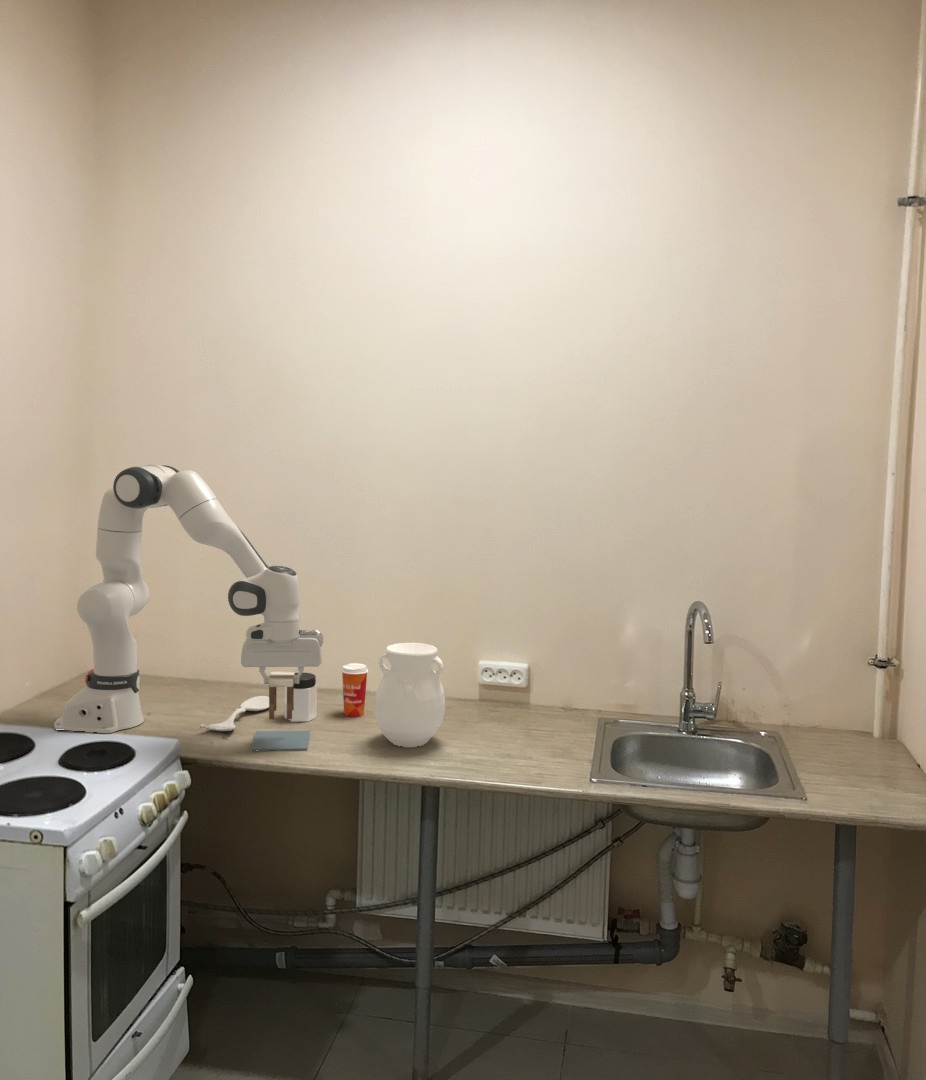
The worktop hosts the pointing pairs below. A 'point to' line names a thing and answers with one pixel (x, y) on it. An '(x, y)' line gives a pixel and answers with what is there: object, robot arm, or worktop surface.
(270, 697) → the stool
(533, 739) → the worktop surface
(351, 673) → the paper cup
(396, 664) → the white vase
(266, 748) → the mat
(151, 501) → the robot arm
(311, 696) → the jar
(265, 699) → the white spork
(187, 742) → the worktop surface
